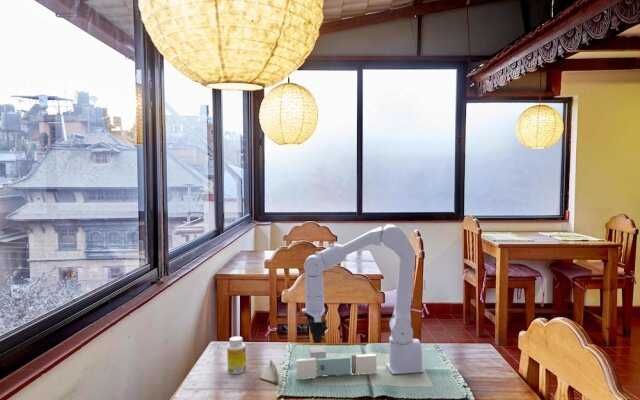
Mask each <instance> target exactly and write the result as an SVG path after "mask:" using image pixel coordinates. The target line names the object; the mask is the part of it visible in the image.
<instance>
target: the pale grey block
mask: <svg viewBox="0 0 640 400" xmlns="http://www.w3.org/2000/svg"><path fill="white" fill-rule="evenodd" d="M326 353H327V351H326V349H325V347H324V346H313V347H311V346H310V347H309V358H316V368H317V359H319V358H327V355H326Z"/></svg>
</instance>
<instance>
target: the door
mask: <svg viewBox="0 0 640 400" xmlns="http://www.w3.org/2000/svg"><path fill="white" fill-rule="evenodd" d="M350 356H351V355H350ZM350 356H337V357H335V356H334V357H326V358H319V359H317V370H316V377H318V376H322V377H324V376H323V375H336V376H338V375H337V374H349V375H352V364H351V357H350Z"/></svg>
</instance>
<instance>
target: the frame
mask: <svg viewBox="0 0 640 400" xmlns="http://www.w3.org/2000/svg"><path fill="white" fill-rule="evenodd" d="M350 356H351V357H350V362H351V374H352V373H353V374H355V373H356V375H357V374H358V373H359V374H362V373H375V372H377V355H376V353H366V354H355V353H354V354H351V355H350ZM356 371H357V372H356ZM377 373H378V372H377ZM308 377H316V378H317V370H316V358H310V357H308V358H296V380H297V379H299V380H302V379H301V378H308Z"/></svg>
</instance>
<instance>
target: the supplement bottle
mask: <svg viewBox="0 0 640 400" xmlns="http://www.w3.org/2000/svg"><path fill="white" fill-rule="evenodd" d="M243 341H244V339H243V337H242V336H237V335H236V336H231V337H230V338H229V343H228V344H227V345H226V355H227V356H226V360H227V372H228V373H229V374H232V375H237V374H238V375H239V374H242V373H244V372H245V371H246V369H247V358H246V353H247V352H246V344H245V343H244V342H243Z"/></svg>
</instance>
